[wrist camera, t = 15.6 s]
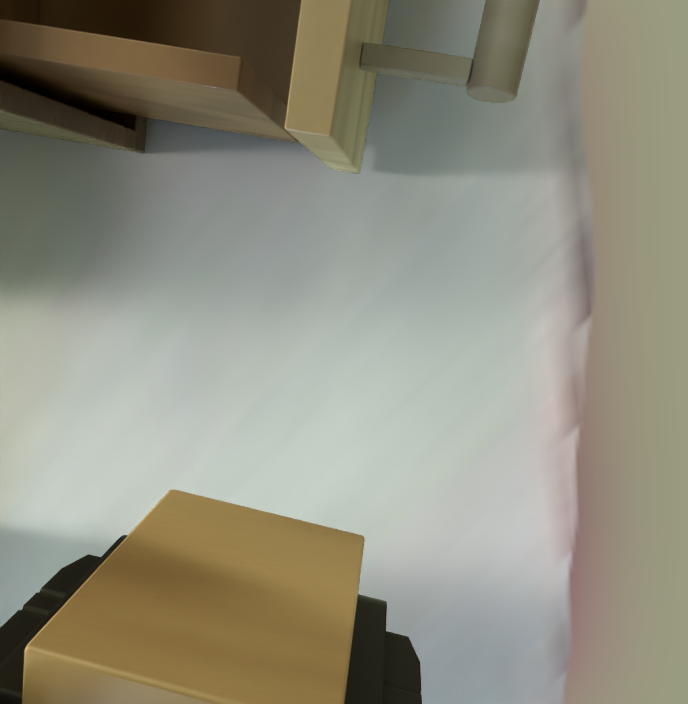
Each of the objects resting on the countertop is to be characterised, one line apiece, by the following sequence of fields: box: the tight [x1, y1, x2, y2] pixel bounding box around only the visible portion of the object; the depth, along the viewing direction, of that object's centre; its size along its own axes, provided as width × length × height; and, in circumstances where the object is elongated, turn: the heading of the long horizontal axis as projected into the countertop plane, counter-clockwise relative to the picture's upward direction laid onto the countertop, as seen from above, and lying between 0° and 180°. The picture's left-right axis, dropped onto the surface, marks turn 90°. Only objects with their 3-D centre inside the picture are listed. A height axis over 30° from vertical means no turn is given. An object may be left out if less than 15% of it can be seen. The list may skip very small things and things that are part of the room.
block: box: [22, 489, 364, 704], centre depth 8 cm, size 4×4×4 cm
